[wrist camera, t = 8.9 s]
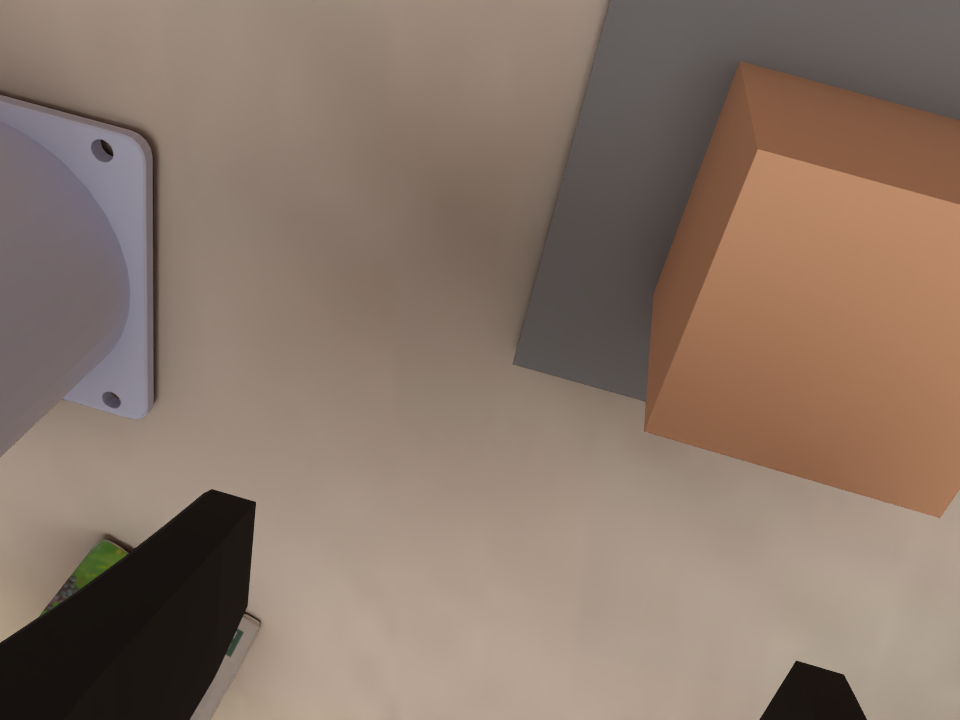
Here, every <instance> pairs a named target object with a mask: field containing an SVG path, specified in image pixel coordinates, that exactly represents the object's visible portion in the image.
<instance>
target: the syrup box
mask: <svg viewBox="0 0 960 720" xmlns="http://www.w3.org/2000/svg"><path fill="white" fill-rule="evenodd" d="M127 554H128V552H127V551H125V550H124V549H123V548H121V547H120V546H118V545H117V544H115V543H113V542H111V541H109V540H100V541H99V542H98V543H97V544H96V545H95V546H94V547H93V548H92V550H91V551H90V552H89V553H88V555H87V556H86V557H85V559H84V560H83V561H82V562H81V564H80V565H79V566H78V567H77V569H76V570H75V571H74V572H73V574H72V575H71V576H70V578H69V579H68V580H67V581H66V583H65V584H64V585H63V586H62V588H61V589H60V590H59V591H58V593H57V594H56V595H55V597H54V598H53V599H52V600H51V602H50V603H49V604H48V605H47V607H46V608H45V609H44V611H43V612H42V613H41V615H40V616H42V615H43V614H45V613H46V612H48V611H49V610H51V609H52V608H54V607H55V606H57V605H58V604H60V603H61V602H63V601H64V600H65V599H67V598H68V597H70V596H71V595H73V594H74V593H75V592H77V591H78V590H80V589H81V588H82V587H84V586H85V585H86V584H88V583H89V582H90V581H92V580H93V579H95V578H96V577H97V576H99V575H100V574H101V573H103V572H104V571H105V570H107V569H108V568H110V567H111V566H112V565H114V564H115V563H116V562H118V561H119V560H121V559H122V558H123V557H125V556H126V555H127ZM40 616H39V617H40ZM259 625H260V623H259V622H258V621H257V620H256V619H254V618H252V617H250V616H249V615H247V614H244V615H243V617H242V619H241V622H240V624H239V626H238V628H237V631H236V633H235V635H234V637H233V640H232V642H231V644H230V646H229V648H228V650H227V653H226V655H225V657H224V659H223V661H222V663H221V665H220V668H219V670H218V672H217V674H216V676H215V678H214V680H213V681H212V683H211V685H210V686H209V688H208V690H207V692H206V693H205V695H204V697H203V698H202V700H201V702H200V703H199V705H198V707H197V708H196V710H195V712H194V713H193V715H192V717H191V718H190V720H211V719H212V717H213V715H214V713H215V711H216V709H217V707H218V705H219V703H220V702H221V700H222V698H223V696H224V695H225V693H226V691H227V689H228V688H229V686H230V684H231V682H232V681H233V679H234V677H235V675H236V673H237V672H238V670H239V668H240V666H241V664H242V662H243V661H244V659H245V657H246V655H247V653H248V651H249V649H250V648H251V646H252V644H253V642H254V640H255V638H256V636H257V634H258V631H259Z"/></svg>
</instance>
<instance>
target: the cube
mask: <svg viewBox="0 0 960 720" xmlns="http://www.w3.org/2000/svg"><path fill="white" fill-rule="evenodd" d="M644 432H648V433H651V434H655V435H658V436H662V437H665V438H668V439H672V440H675V441H679V442H682V443H686V444H689V445H692V446H696V447H699V448H703V449H706V450H709V451H713V452H716V453H720V454H723V455H727V456H730V457H733V458H737V459H740V460H744V461H747V462H750V463H754V464H757V465H761V466H764V467H768V468H771V469H774V470H778V471H781V472H785V473H788V474H791V475H795V476H798V477H802V478H805V479H809V480H812V481H815V482H819V483H822V484H826V485H829V486H833V487H836V488H839V489H843V490H846V491H850V492H853V493H856V494H860V495H863V496H867V497H870V498H874V499H877V500H880V501H884V502H887V503H891V504H894V505H897V506H901V507H904V508H908V509H911V510H915V511H918V512H921V513H925V514H928V515H932V516H935V517H938V518H940V517H941V516H942V514H943V513H944V511H945V510H946V508H947V507H948V505H949V504H950V503H951V501H952V500H953V498H954V497H955V495H956V494H957V492H958V491H959V489H960V120H956V119H952V118H948V117H945V116H941V115H937V114H934V113H930V112H926V111H923V110H919V109H915V108H911V107H908V106H904V105H900V104H897V103H893V102H889V101H886V100H882V99H878V98H875V97H871V96H867V95H863V94H860V93H856V92H852V91H849V90H845V89H841V88H838V87H834V86H830V85H826V84H823V83H819V82H815V81H812V80H808V79H804V78H801V77H797V76H793V75H790V74H786V73H782V72H778V71H775V70H771V69H767V68H764V67H760V66H756V65H753V64H749V63H745V62H742V61H740V62H739V64H738V67H737V70H736V72H735V75H734V78H733V80H732V83H731V86H730V89H729V91H728V94H727V97H726V99H725V102H724V105H723V107H722V110H721V113H720V116H719V118H718V121H717V124H716V126H715V129H714V132H713V134H712V137H711V140H710V143H709V145H708V148H707V151H706V153H705V156H704V159H703V161H702V164H701V167H700V170H699V172H698V175H697V178H696V180H695V183H694V186H693V188H692V191H691V194H690V197H689V199H688V202H687V205H686V207H685V210H684V213H683V216H682V218H681V221H680V224H679V226H678V229H677V232H676V234H675V237H674V240H673V243H672V245H671V248H670V251H669V253H668V256H667V259H666V261H665V264H664V267H663V270H662V272H661V275H660V278H659V280H658V283H657V286H656V288H655V291H654V294H653V307H652V322H651V336H650V351H649V366H648V381H647V395H646V410H645V425H644Z"/></svg>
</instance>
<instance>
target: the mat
mask: <svg viewBox="0 0 960 720" xmlns="http://www.w3.org/2000/svg"><path fill="white" fill-rule="evenodd" d="M740 61H742V62H745V63H749V64H753V65H756V66H760V67H764V68H767V69H771V70H775V71H778V72H782V73H786V74H790V75H793V76H797V77H801V78H804V79H808V80H812V81H815V82H819V83H823V84H826V85H830V86H834V87H838V88H841V89H845V90H849V91H852V92H856V93H860V94H863V95H867V96H871V97H875V98H878V99H882V100H886V101H889V102H893V103H897V104H900V105H904V106H908V107H911V108H915V109H919V110H923V111H926V112H930V113H934V114H937V115H941V116H945V117H948V118H952V119H956V120H960V0H610V3H609V7H608V11H607V15H606V18H605V22H604V26H603V29H602V33H601V37H600V41H599V44H598V48H597V52H596V56H595V59H594V63H593V67H592V71H591V74H590V78H589V82H588V86H587V89H586V93H585V97H584V100H583V104H582V108H581V112H580V115H579V119H578V123H577V127H576V130H575V134H574V138H573V142H572V145H571V149H570V153H569V156H568V160H567V164H566V168H565V171H564V175H563V179H562V183H561V186H560V190H559V194H558V198H557V201H556V205H555V209H554V212H553V216H552V220H551V224H550V227H549V231H548V235H547V239H546V242H545V246H544V250H543V254H542V257H541V261H540V265H539V269H538V272H537V276H536V280H535V283H534V287H533V291H532V295H531V298H530V302H529V306H528V310H527V313H526V317H525V321H524V325H523V328H522V332H521V336H520V339H519V343H518V347H517V351H516V354H515V358H514V362H513V364H514V365H517V366H521V367H525V368H528V369H532V370H535V371H539V372H542V373H546V374H550V375H553V376H557V377H560V378H564V379H567V380H571V381H575V382H578V383H582V384H585V385H589V386H592V387H596V388H600V389H603V390H607V391H610V392H614V393H617V394H621V395H625V396H628V397H632V398H635V399H639V400H642V401H646V395H647V381H648V366H649V351H650V336H651V322H652V307H653V294H654V291H655V288H656V286H657V283H658V280H659V278H660V275H661V272H662V270H663V267H664V264H665V261H666V259H667V256H668V253H669V251H670V248H671V245H672V243H673V240H674V237H675V234H676V232H677V229H678V226H679V224H680V221H681V218H682V216H683V213H684V210H685V207H686V205H687V202H688V199H689V197H690V194H691V191H692V188H693V186H694V183H695V180H696V178H697V175H698V172H699V170H700V167H701V164H702V161H703V159H704V156H705V153H706V151H707V148H708V145H709V143H710V140H711V137H712V134H713V132H714V129H715V126H716V124H717V121H718V118H719V116H720V113H721V110H722V107H723V105H724V102H725V99H726V97H727V94H728V91H729V89H730V86H731V83H732V80H733V78H734V75H735V72H736V70H737V67H738V64H739V62H740Z"/></svg>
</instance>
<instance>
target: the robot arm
mask: <svg viewBox="0 0 960 720" xmlns="http://www.w3.org/2000/svg"><path fill="white" fill-rule="evenodd" d="M101 139H102V140H104V141H106V142H108V144H109V145H110V146H111V147H112V150H113V156H110V155H109V154H107V153H106V152H105V151H104V150H103V148H102V145H101ZM111 392H112V393H114V394H116V395H117V396H118V397H119V398H120V400H119V399H117V398H115V397H114V396H113V395H112V394H111ZM61 399H64V400H67V401H71V402H74V403H78V404H81V405H85V406H88V407H92V408H95V409H98V410H102V411H105V412H109V413H112V414H116V415H119V416H122V417H126V418H129V419H136V420H138V419H142V418H144V417H145V416H146V415H147V414H148V412H149V411H150V410H151V409H152V407H153V403H154V391H153V157H152V152H151V148H150V146H149V145H148V143H147V141H146V140H145V139H144V138H143V137H142V136H141V135H140V134H138V133H136V132H134V131H131V130H128V129H124V128H121V127H117V126H113V125H110V124H106V123H102V122H99V121H95V120H91V119H88V118H84V117H80V116H77V115H73V114H69V113H65V112H62V111H58V110H54V109H51V108H47V107H43V106H40V105H36V104H32V103H29V102H25V101H21V100H18V99H14V98H10V97H7V96H3V95H0V457H1V456H2V455H3V454H4V453H5V452H6V451H8V450H9V449H10V448H11V447H12V446H13V445H14V444H15V443H16V442H17V441H18V440H19V439H20V438H21V437H22V436H23V435H24V434H25V433H26V432H27V431H29V430H30V429H31V428H32V427H33V426H34V425H35V424H36V423H37V422H38V421H39V420H40V419H41V418H42V417H43V416H44V415H45V414H46V413H47V412H49V411H50V410H51V409H52V408H53V407H54V406H55V405H56V404H57V403H58V402H59V401H60V400H61ZM255 508H256V502H254V501H250V500H247V499H244V498H240V497H237V496H233V495H230V494H227V493H223V492H220V491H216V490H213V489H212V490H210V491H208V492H205V493H203V494H202V495H201V496H200V497H199V498H197V499H196V500H195V501H194V502H193V503H191V504H190V505H189V506H188V507H187V508H185V509H184V510H183V511H182V512H180V513H179V514H178V515H177V516H175V517H174V518H173V519H172V520H171V521H169V522H168V523H167V524H166V525H164V526H163V527H162V528H161V529H159V530H158V531H157V532H156V533H154V534H153V535H152V536H150V537H149V538H148V539H147V540H145V541H144V542H143V543H141V544H140V545H139V546H138V547H136V548H135V549H134V550H132V551H131V552H130V553H128V554H127V555H126V556H125V557H123V558H122V559H121V560H119V561H118V562H116V563H115V564H114V565H112V566H111V567H110V568H108V569H107V570H105V571H104V572H103V573H101V574H100V575H99V576H97V577H96V578H95V579H93V580H92V581H90V582H89V583H88V584H86V585H85V586H84V587H82V588H81V589H80V590H78V591H77V592H75V593H74V594H73V595H71V596H70V597H68V598H67V599H65V600H64V601H63V602H61V603H60V604H58V605H57V606H55V607H54V608H52V609H51V610H49V611H48V612H46V613H45V614H43V615H42V616H40V617H38V618H37V619H35V620H34V621H32V622H31V623H29V624H28V625H26V626H25V627H23V628H22V629H20V630H19V631H17V632H16V633H14V634H13V635H11V636H10V637H8V638H7V639H5V640H4V641H2V642H1V643H0V720H190V718H191V717H192V715H193V713H194V712H195V710H196V708H197V707H198V705H199V703H200V702H201V700H202V698H203V697H204V695H205V693H206V692H207V690H208V688H209V686H210V685H211V683H212V681H213V680H214V678H215V676H216V674H217V672H218V670H219V668H220V665H221V663H222V661H223V659H224V657H225V655H226V653H227V650H228V648H229V646H230V644H231V642H232V640H233V637H234V635H235V633H236V631H237V628H238V626H239V624H240V622H241V619H242V617H243V615H244V613H245V611H246V608H247V605H248V593H249V581H250V569H251V556H252V544H253V532H254V520H255ZM760 720H867V719H866V717H865V715H864V713H863V711H862V709H861V707H860V705H859V703H858V701H857V699H856V697H855V695H854V693H853V691H852V689H851V687H850V686H849V684H848V682H847V680H846V678H845V676H844V675H843V674H840V673H836V672H833V671H830V670H826V669H823V668H819V667H816V666H813V665H809V664H806V663H802V662H799V661H796V662H795V663H794V665H793V667H792V668H791V670H790V672H789V673H788V675H787V676H786V678H785V680H784V681H783V683H782V684H781V686H780V688H779V689H778V691H777V692H776V694H775V696H774V697H773V699H772V700H771V702H770V704H769V705H768V707H767V709H766V710H765V712H764V713H763V715H762V717H761V718H760Z"/></svg>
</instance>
